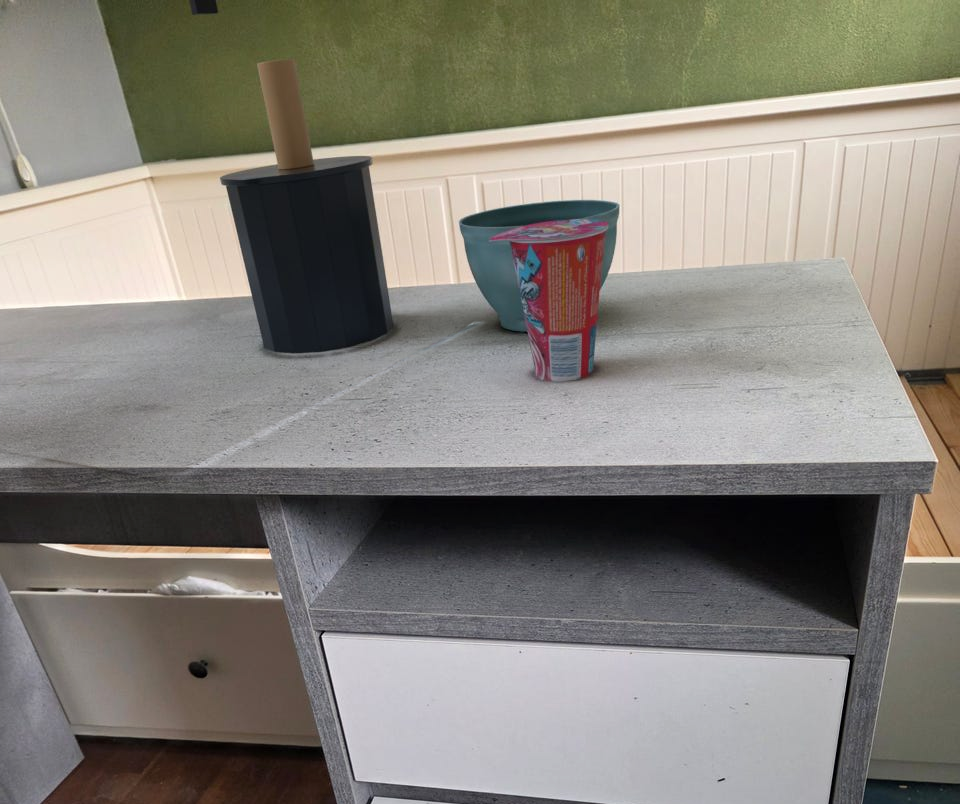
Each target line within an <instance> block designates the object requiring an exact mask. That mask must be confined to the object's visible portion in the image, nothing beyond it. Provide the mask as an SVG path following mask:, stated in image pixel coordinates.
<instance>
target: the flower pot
mask: <svg viewBox="0 0 960 804" xmlns="http://www.w3.org/2000/svg"><path fill="white" fill-rule="evenodd" d="M620 207H621V205H620V203H619V202H615V201H611V200H610V201H609V200H600V199H570V200H569V199H568V200H551V201H542V202H531V203H525V204H515V205H510V206H503V207H497V208H492V209H488V210H484V211H480V212H476V213H473V214H469V215H467V216H464V217H462V218H460V219H459V220H458V226H459V231H460V234H461V236H462V238H463V245H464V251H465V255H466V259H467V263H468V266H469V269H470V272H471V275H472V277H473V279H474V282H475V284H476V286H477V287H478V290H479V291H480V293H481V294H482V296H483V298H484V299H485V300H486V302H487V303H488V304H489V305H490V307H491V308H492V309H493V310H494V311H495V312H496V313H497V316H498V320H499V324H500V326H501V327H502V328H504V329H505V330H508V331H515V332H522V333H523V332H524V333H526V332H527V333H528V331H527V326H526V321H525V316H524V311H523V306H522V301H521V296H520V291H519V286H518V281H517V276H516V271H515V266H514V261H513V256H512V251H511V246H510V241H509V240H496V241H489V240H490V238H492V237H493V236H495V235H498V234H500V233H503V232H506V231H509V230H512V229H515V228H518V227H522V226H526V225H530V224H536V223H542V222H549V221H558V220H572V219H596V220H603V221H606V222H608V229H607V230H606V232H605V242H604V253H603V263H602V273H601V283H600V291H601V290H602V287H604V284H605V282H606V280H607V278H608V274H609V272H610V269H611V267H612V263H613V260H614V255H615V250H616V246H617V233H618V232H617V231H618V221H619V220H618V219H619V216H620Z"/></svg>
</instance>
